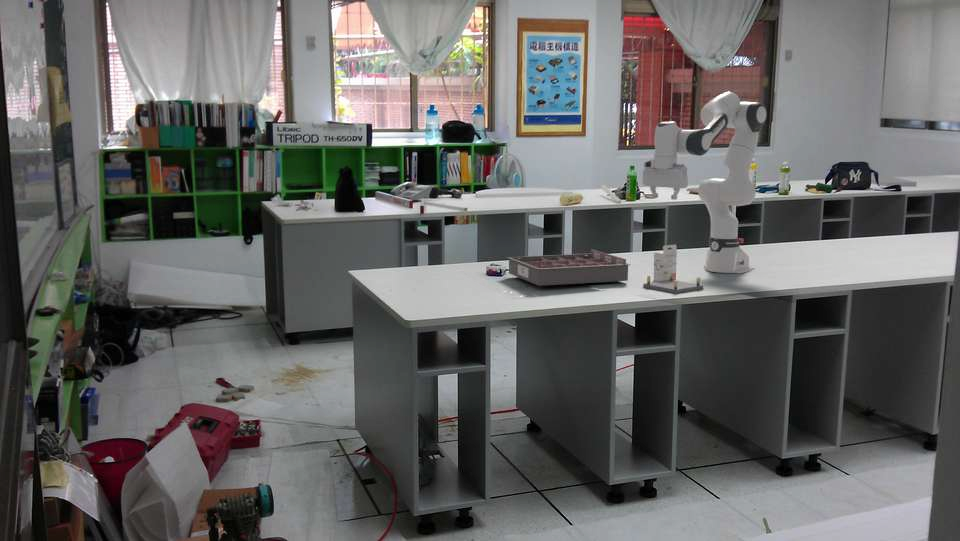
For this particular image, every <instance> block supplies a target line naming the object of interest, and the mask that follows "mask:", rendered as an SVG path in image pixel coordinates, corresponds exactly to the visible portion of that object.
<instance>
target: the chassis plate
mask: <svg viewBox="0 0 960 541" xmlns="http://www.w3.org/2000/svg"><path fill="white" fill-rule="evenodd" d="M646 277H647V278H646V283H643V284H642V287H643V288H644V289H650V290H655V291H660V292H665V293H670V294H676V295H678V294H681V293H689V292H694V291H700V290H704V285H703V284H701V277H700V276H699V277H698V276H697V277H696V283H692V282H686V281H681V280H677V279H676V280H673V273H670V280H665V281H653V282H652V281H651V275H647V276H646Z"/></svg>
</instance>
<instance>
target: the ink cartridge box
mask: <svg viewBox="0 0 960 541" xmlns="http://www.w3.org/2000/svg"><path fill="white" fill-rule="evenodd" d="M669 248H670V249H669ZM677 254H678V252H677V244H668V245H663V246H662V250H661V251H655V252H653V255H654V256H653V282H658V281H665V280H670V273H673V280H676V281H677V278H676V277H677V259H678V258H677V257H678V256H677Z"/></svg>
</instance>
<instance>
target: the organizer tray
mask: <svg viewBox="0 0 960 541" xmlns="http://www.w3.org/2000/svg"><path fill="white" fill-rule="evenodd" d="M590 251H591V252H590V253H574V254H573V253H571V254H570V253H569V254H553V255H550V254H549V255H527V256H510V257H509V256H508V257H506V259H508V274H510V275H512V276H514V277H517V278H519V279H522V280H523V281H526V282H529V283H531V284H534V285H536V286H538V287H539V286H543V287H544V286H557V285H559V286H560V285H576V284H590V283H593V284H595V283H610V282H612V283H613V282H626V281H627V282H628V280H629V266H631V264H630V263H627V259H626V258H622V257H619V256H616V255H613V254H610V253H609V254H608V253H606V252H602V251H598V250H596V249H591V250H590Z"/></svg>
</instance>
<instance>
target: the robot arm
mask: <svg viewBox="0 0 960 541" xmlns="http://www.w3.org/2000/svg"><path fill="white" fill-rule="evenodd" d="M767 117H768V110H767V108H766V106H765V105H764V104H763V103H761V102H757V101H741V100H740V97H739V96H738V95H737V94H736V93H735V92H733V91H732V92H731V91H725V92H723V93H721V94H719V95H717V96H715V97H713V98H712V99H711V100H709V101H708V102H707V103H706V104H704V106H703V107H702V108H701V110H700V120H701V122H702V124H703V126H704V127H705V128H703V129H702V128H701V129H683V128H681V127H679V126H678V125H677V121H673V120H672V121H671V120H668V121H667V120H666V121H660V122H659V123H657V124H656V126H655V132H654V141H653V142H654V143H653V145H654V155H653V158H652V159H650V160H647V161H644V162H643V168H644V169H643V171H642V179H641V180H642V185H643V186H644V187H650V188H649V190H650V192H651V194H652V196H651V197H652V198H653V199H657V198H658V197H659V193H658V192H657V191H656V190H657V188H671V189H673V194H671V195H670V196H671V198H670V199H671V200H675V201H676V200H678V194H679V193H680V191H681V189H687V187H688V185H689V180H688V179H689V178H688V168H687V166H686V165H684V164H683V163H681V164H680V163H678V155H691V156H698V157H699V156H700V157H701V156H705V155H706V153H707V152H709V150H710V149H711V147H712V145H713V143H714V142H715V141H716V139H717V138H718V137H719V136H720V135H721V134H722V133H723V132H724V131H725V129H733V130H734V135H733V136H732V137H731V141H730V142H729V146H728V148H727V150H726V153H725V155H724V158H723V160H722V161H723V167H724V168H725V170H726V171H727V172H728V177H727V178H719V177H718V178H716V177H713V178H709V179H708V178H707V179H704V180H702V181H701V182H700V184H699V186H698V188H697V193H698V197H699V200H701V201H702V202H703V203H704V205H705V206H706V208H707V211H708V213H709V217H710V236H709V238H708V239H709V240H708V246H709V248H708V249H707V253H706V259H705V265H703V269H704V270H705V271H708V272H712V273H713V272H714V273H720V274H723V273H724V274H743V273H747V272H749V271H753V270H755V267H754V266H750V256H749V255H748V253H746V252H745V251H744V250H743V248H741V247H740V246H741V245H740V244H744V238H738V231H739V220H738V217H736V216H735V215H734V214H733V213H732V212H731V210H730V206H734V207H741V206H742V207H743V206H748V205H751V204H752V202H753V201H754V199H755V197H756V188H755V186H754V183H752V181H751V179H750V168H751V165H752V162H753V159H754V157H755V154H756V152H757V151H756V150H757V147H758V143H759V135H760V134H759V131H761V129H762V127H763V126H764V125H765V123H766V121H767Z"/></svg>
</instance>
